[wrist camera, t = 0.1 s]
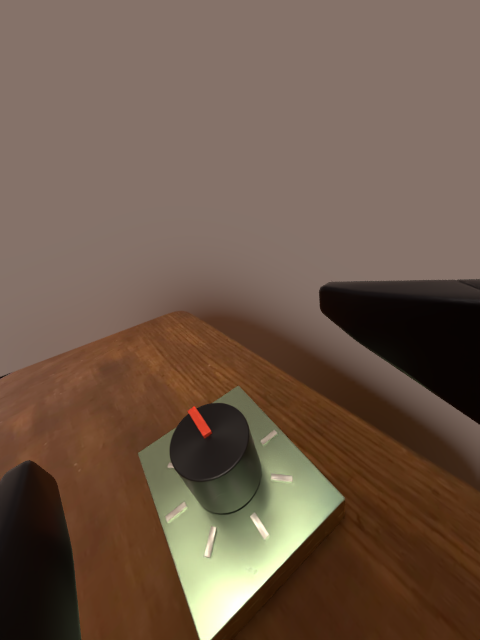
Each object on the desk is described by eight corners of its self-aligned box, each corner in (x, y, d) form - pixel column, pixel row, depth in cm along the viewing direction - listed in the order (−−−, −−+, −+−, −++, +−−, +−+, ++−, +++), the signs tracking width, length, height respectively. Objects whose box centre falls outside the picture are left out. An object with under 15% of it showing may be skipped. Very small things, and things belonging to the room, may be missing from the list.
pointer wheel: (276, 477, 17) (265, 438, 15) (212, 534, 16) (186, 500, 13) (236, 426, 21) (221, 387, 18) (181, 467, 19) (156, 430, 17)
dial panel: (344, 517, 17) (345, 497, 16) (218, 655, 14) (201, 649, 12) (244, 404, 26) (237, 384, 25) (152, 470, 23) (136, 451, 21)
